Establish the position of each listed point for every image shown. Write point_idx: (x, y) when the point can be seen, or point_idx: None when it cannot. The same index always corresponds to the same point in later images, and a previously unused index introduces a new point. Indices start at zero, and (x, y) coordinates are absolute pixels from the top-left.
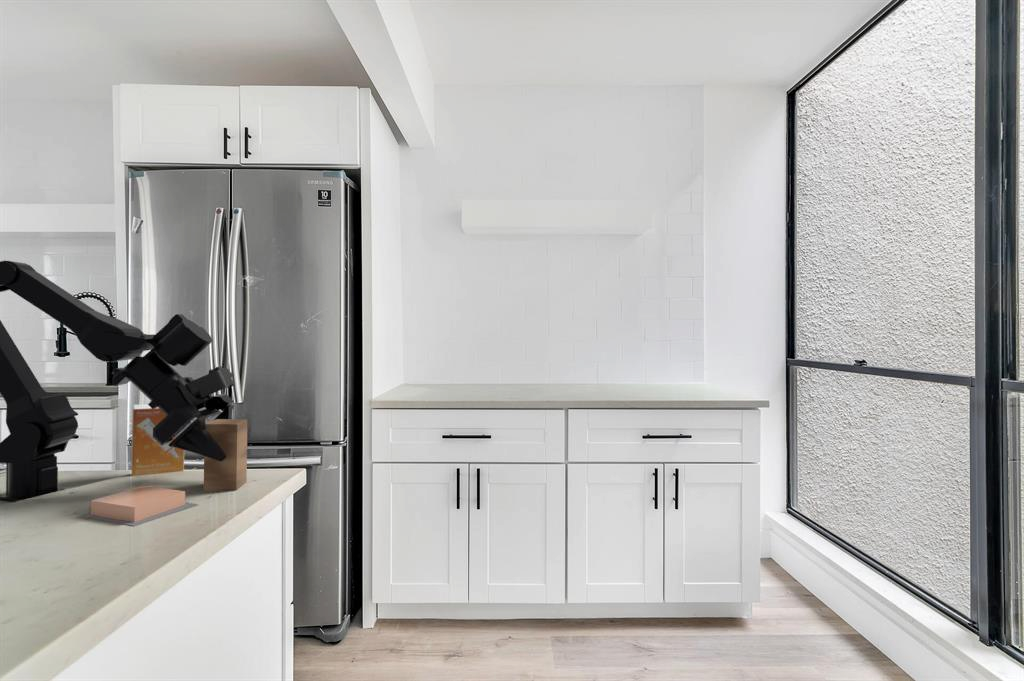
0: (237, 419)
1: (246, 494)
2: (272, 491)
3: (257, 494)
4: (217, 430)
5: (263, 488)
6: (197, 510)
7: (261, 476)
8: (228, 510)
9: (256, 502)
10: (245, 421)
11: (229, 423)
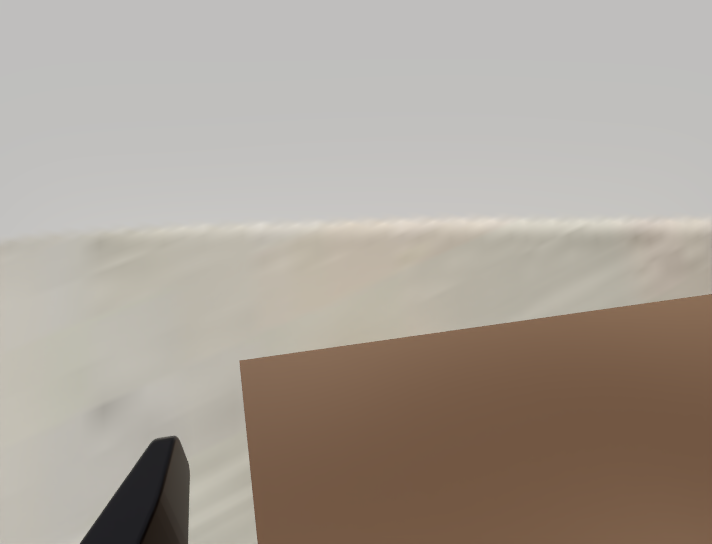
0: (277, 534)
1: (383, 328)
2: (319, 226)
3: (377, 275)
4: None
5: (269, 291)
6: None
7: (12, 412)
8: (624, 294)
9: (498, 226)
10: (343, 348)
11: (697, 452)
